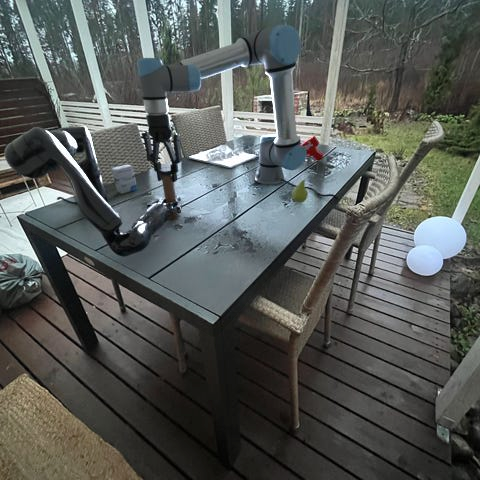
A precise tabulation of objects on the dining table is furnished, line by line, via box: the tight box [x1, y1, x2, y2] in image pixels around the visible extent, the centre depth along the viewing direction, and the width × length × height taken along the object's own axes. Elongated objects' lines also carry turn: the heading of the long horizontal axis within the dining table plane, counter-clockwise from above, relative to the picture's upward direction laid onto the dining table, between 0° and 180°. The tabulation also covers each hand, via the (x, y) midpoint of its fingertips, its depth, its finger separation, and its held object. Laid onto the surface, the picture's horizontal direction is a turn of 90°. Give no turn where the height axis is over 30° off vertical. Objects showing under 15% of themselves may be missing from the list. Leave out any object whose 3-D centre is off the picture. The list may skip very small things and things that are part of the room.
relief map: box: [188, 143, 257, 169], centre depth 179 cm, size 27×35×5 cm
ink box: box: [110, 164, 138, 195], centre depth 131 cm, size 8×5×12 cm, turn 135°
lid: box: [159, 166, 172, 176], centre depth 101 cm, size 5×5×2 cm
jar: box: [161, 175, 179, 219], centre depth 106 cm, size 4×4×18 cm
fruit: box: [291, 174, 311, 204], centre depth 118 cm, size 7×8×12 cm
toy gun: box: [301, 135, 324, 163], centre depth 172 cm, size 18×4×15 cm
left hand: (173, 198), depth 110 cm, fingers closed on jar, 4 cm apart
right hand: (167, 180), depth 103 cm, fingers open, 5 cm apart
